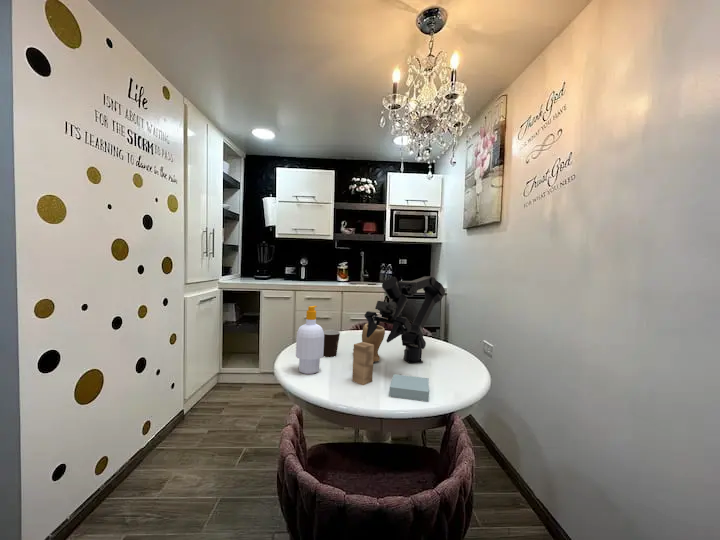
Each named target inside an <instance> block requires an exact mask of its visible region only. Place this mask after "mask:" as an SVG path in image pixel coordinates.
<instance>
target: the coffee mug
mask: <svg viewBox="0 0 720 540" xmlns="http://www.w3.org/2000/svg"><path fill="white" fill-rule="evenodd" d="M323 331H324V354H323V357H324V356H325V358H333V357H334V356H335V357H337V354H338V348H339V343H340V342H339V340H340V336H341V335H340V334H341V332H340V331H339V330H333V329H329V330H328V329H326V330H324V329H323Z"/></svg>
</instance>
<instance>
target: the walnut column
mask: <svg viewBox="0 0 720 540" xmlns="http://www.w3.org/2000/svg"><path fill="white" fill-rule="evenodd" d="M353 349H354V351H353V352H352V373H351V375H352V376H351V377H352V379H351V381H352V382H353V383H355V384H359V385H361V386H365V385H367V384H370V383H373V378H374V377H373V373H374V362H373V356H374V345H373V344H369V343H365V342H362V341H361V342H357V343H354V344H353Z"/></svg>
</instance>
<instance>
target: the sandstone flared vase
mask: <svg viewBox="0 0 720 540" xmlns="http://www.w3.org/2000/svg"><path fill="white" fill-rule="evenodd" d="M377 326H378V327H377V329H376V330H375V331H374V332H373V333H372V334H371V336H370V337H369V338H367V336H366V335H367V330H368V322H367V323H365V324H364V325H363V327H362V330H361V331H362V332H361V342H365V343H369V344H373V345H374V356H373V363H374V362H379V361H381V360H380V359H381V357H380V354H379V349H380V346H381V345H382V343H383V341H384V339H385V334H386V330H385V329H386V328H384V326H382V325H380V324H379V325H377ZM352 350H353V351H354V348H353V349H352Z"/></svg>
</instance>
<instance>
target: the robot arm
mask: <svg viewBox="0 0 720 540" xmlns="http://www.w3.org/2000/svg"><path fill="white" fill-rule="evenodd" d="M381 287H382V290H383V291H384V292H385V294H386V296H387V298H388V299H390V300H389V302H388V301H383V300H377V302H376V303H375V304H376V305H375V308H374V309H375V310H377V311H378V312H379V315H380V316H379V315H378V314H377V312H375V311H370V310H367V311H365V314H364V317H365V320H367V323H368V330H367V335H366V336H367V338H369V337H370V336H371V334H372V333H373V332H374V331H375V330H376V329H377V327H378V326H377V325H379V326H380V323H384V324H387V325H388V324H389V325H392V328H391V330H390V332H389V334H388V336H387V339H386V340H385V341H386V343H390V342H392V341H393V340H394V339H396V338H397V337H399V336H400V337H401V338H400V339H401V344H402V346H405V349H404V350H403V352H404V353H403V360H404V361H405V362H407V363H408V364H421V363H424V361H423V360H422V354H423V353H422V352H423V350H425V349H426V346H427V342H426V341H425V338H424V329H423V328H424V327H425V325H426V323H427V321H428V318H429V317H430V314H431V313H432V310H433V308H434V307H435V305H436V304H437V303H439V302H441V300H442V299H443V298H444V296H445V294H446V289H445V287H444V286H443V284H442V283H441V282H440V281H437V279H436V278H435V277H434V276H431V275H429V276H426V275H424V276H422V277H420V278H417V279H413V280H399V281H398V278H397V277H396V276H391V277H390V278H388V279H386V280H385V281H383V282H382V284H381ZM420 290H423V291H424V300H423V302H422V304H421V306H420V308H419V309H418V311H417V314H416V315H415V317H414V319H413V321H412V323H411V322H410V321H409V319H408V318H407V317H406V316H402V315H403V313H402V311H403V309H404V307H405V306H408V307H409V304H410V303H409V299H408V298H407V297H413V296H415V295H416V294H417V293H418V291H420Z"/></svg>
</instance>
